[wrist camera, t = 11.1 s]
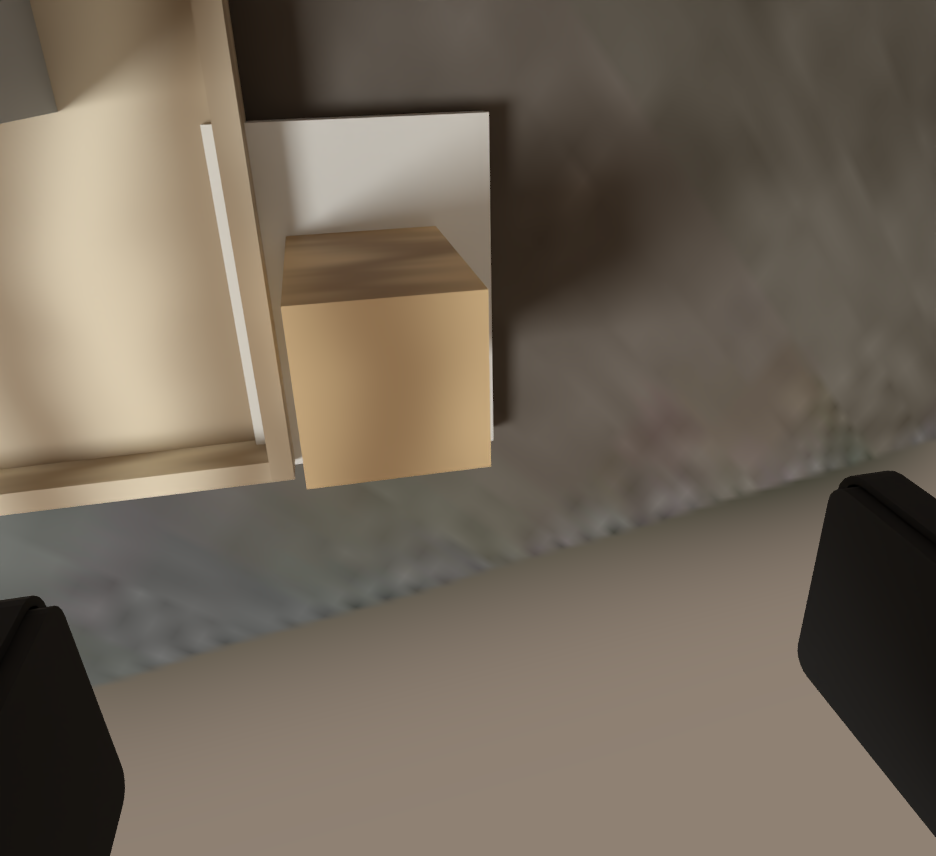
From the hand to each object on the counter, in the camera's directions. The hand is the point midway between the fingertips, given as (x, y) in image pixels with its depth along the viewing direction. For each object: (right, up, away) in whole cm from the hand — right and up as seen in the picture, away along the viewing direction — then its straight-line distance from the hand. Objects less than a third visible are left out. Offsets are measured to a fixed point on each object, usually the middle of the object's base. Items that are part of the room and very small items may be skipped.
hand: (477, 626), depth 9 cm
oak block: (-4, +7, +17) cm, 18 cm away
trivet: (-4, +7, +18) cm, 19 cm away
